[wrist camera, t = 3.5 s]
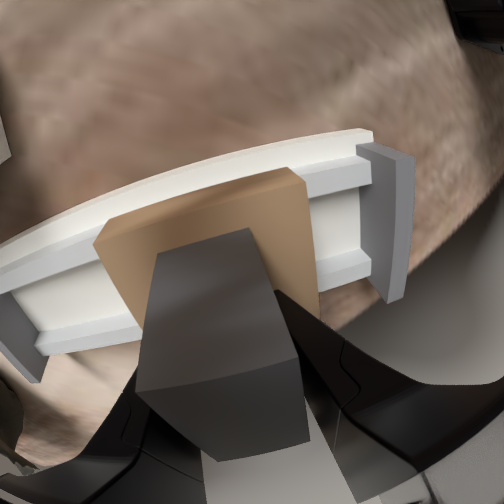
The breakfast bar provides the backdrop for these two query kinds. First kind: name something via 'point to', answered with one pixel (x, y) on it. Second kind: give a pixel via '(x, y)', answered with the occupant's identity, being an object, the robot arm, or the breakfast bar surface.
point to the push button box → (3, 145)
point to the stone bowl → (12, 429)
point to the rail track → (187, 180)
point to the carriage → (219, 308)
